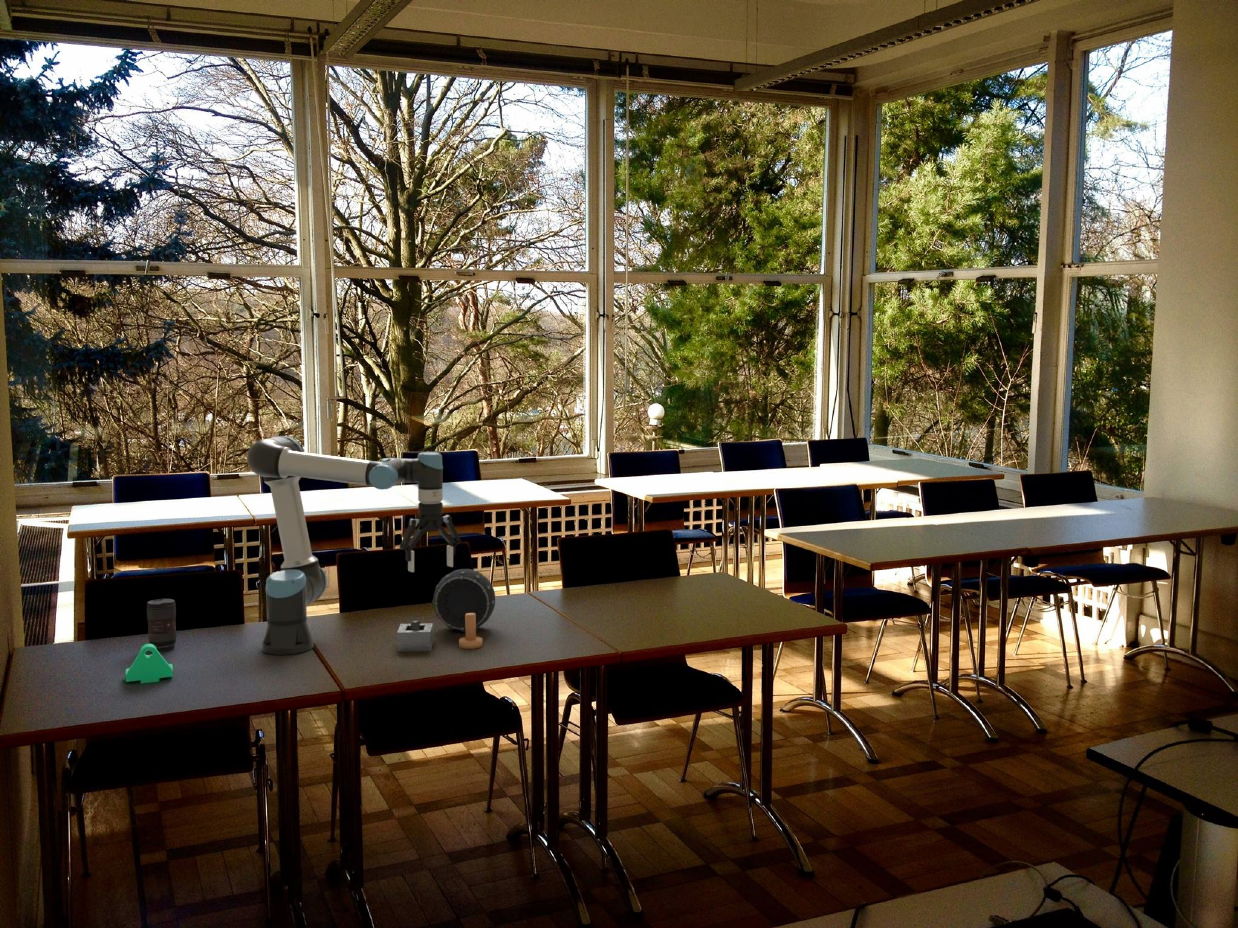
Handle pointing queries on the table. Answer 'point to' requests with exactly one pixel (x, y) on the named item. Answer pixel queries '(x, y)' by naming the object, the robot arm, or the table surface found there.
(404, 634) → the open grey box
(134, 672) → the camera mount
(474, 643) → the hub
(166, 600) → the dark grey cylinder
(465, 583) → the dark grey round disc
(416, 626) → the stand rod
